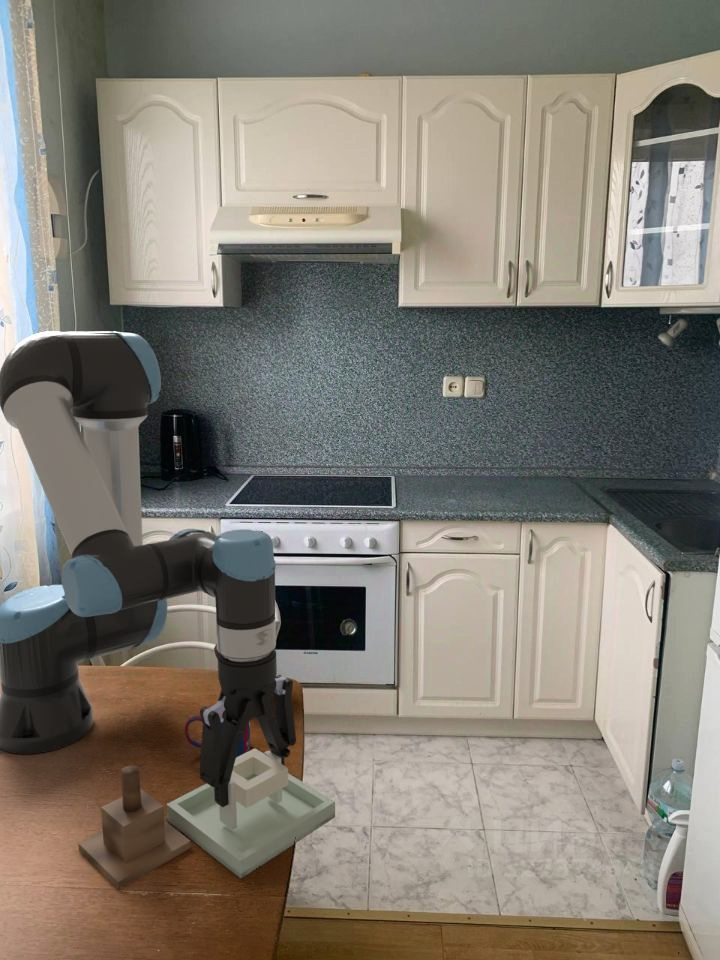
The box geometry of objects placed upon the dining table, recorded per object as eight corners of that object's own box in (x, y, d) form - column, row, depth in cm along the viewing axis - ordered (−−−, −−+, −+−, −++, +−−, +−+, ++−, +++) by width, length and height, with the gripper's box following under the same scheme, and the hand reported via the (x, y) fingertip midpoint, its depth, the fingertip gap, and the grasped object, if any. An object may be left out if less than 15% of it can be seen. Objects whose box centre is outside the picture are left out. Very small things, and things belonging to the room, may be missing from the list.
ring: (246, 808, 94) (246, 790, 94) (214, 786, 99) (213, 768, 99) (288, 784, 99) (287, 767, 99) (255, 764, 104) (254, 748, 104)
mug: (250, 760, 114) (248, 720, 113) (183, 765, 113) (181, 724, 111) (251, 738, 120) (250, 699, 119) (188, 741, 119) (186, 702, 118)
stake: (78, 849, 94) (72, 771, 92) (148, 813, 101) (144, 740, 99) (118, 889, 87) (113, 805, 85) (190, 847, 94) (187, 769, 92)
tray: (167, 820, 100) (166, 804, 99) (259, 770, 111) (259, 756, 111) (240, 878, 89) (240, 861, 89) (335, 817, 101) (335, 801, 100)
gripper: (199, 685, 86) (206, 860, 90) (322, 636, 100) (324, 789, 105) (163, 666, 91) (172, 833, 95) (286, 622, 105) (288, 769, 110)
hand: (251, 810), depth 100 cm, fingers closed on ring, 7 cm apart
